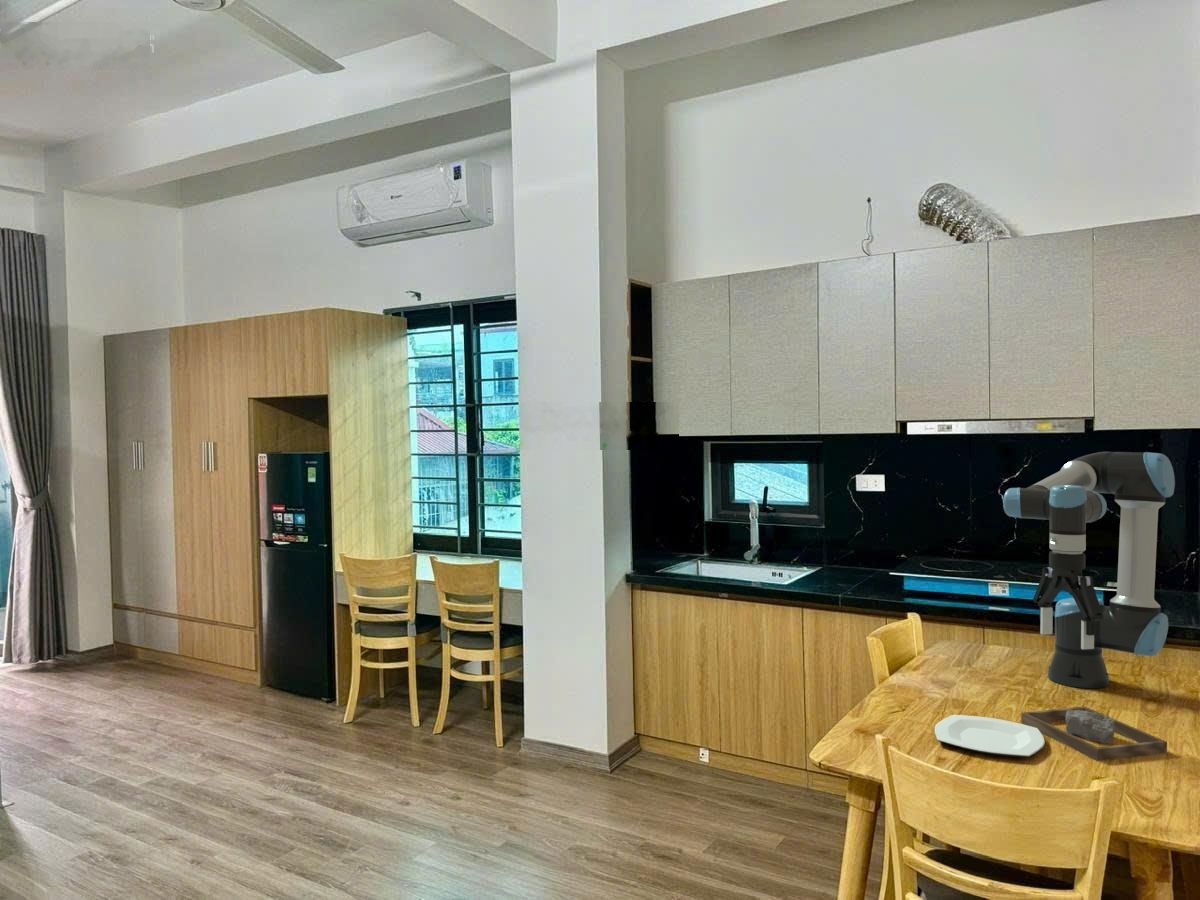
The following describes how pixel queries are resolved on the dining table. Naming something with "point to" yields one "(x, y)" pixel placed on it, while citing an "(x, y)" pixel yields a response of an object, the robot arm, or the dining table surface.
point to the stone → (1090, 725)
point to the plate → (989, 735)
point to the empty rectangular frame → (1144, 747)
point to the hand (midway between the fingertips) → (1066, 641)
